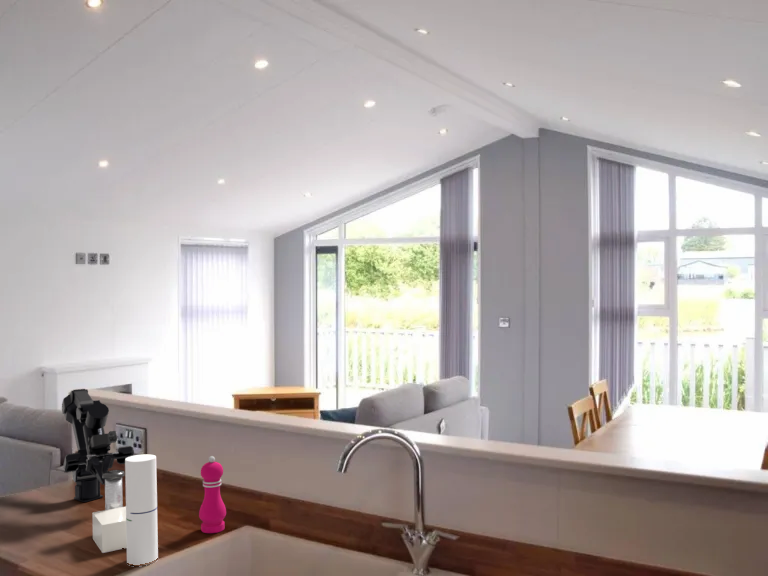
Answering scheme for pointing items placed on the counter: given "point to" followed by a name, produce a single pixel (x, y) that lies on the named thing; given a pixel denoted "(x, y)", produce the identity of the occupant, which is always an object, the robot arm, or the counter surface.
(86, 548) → the counter surface
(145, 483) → the cylindrical container
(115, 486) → the silver jar
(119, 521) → the block
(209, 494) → the pepper mill
